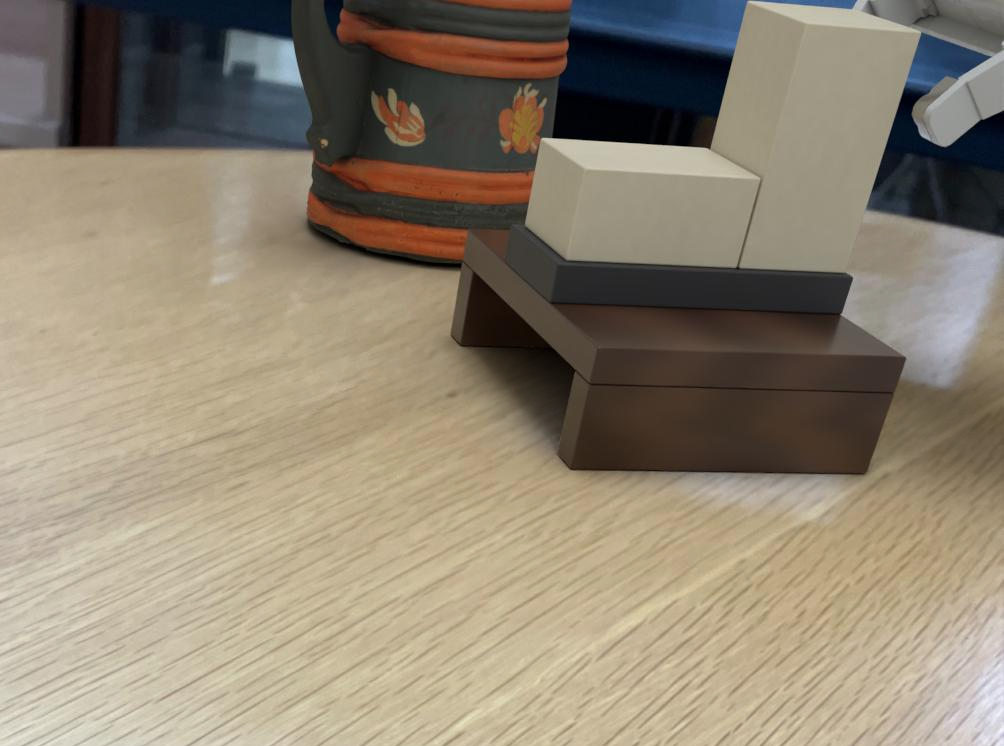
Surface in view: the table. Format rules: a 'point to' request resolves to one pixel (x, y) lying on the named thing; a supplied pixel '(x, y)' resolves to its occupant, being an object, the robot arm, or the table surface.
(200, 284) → the table surface
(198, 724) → the table surface
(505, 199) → the beer stein
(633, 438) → the shoe shelf
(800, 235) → the blocky cream boot
